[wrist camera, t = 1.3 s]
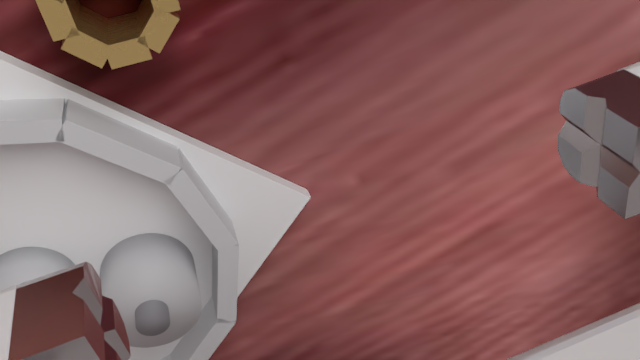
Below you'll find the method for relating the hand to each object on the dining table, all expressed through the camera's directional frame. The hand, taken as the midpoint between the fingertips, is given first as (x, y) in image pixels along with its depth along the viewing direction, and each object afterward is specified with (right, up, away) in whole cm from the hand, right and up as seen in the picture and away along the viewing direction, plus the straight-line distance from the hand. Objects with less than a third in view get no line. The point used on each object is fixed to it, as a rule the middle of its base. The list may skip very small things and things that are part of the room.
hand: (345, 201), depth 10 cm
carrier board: (-19, -6, +29) cm, 35 cm away
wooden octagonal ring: (-11, +11, +21) cm, 26 cm away
